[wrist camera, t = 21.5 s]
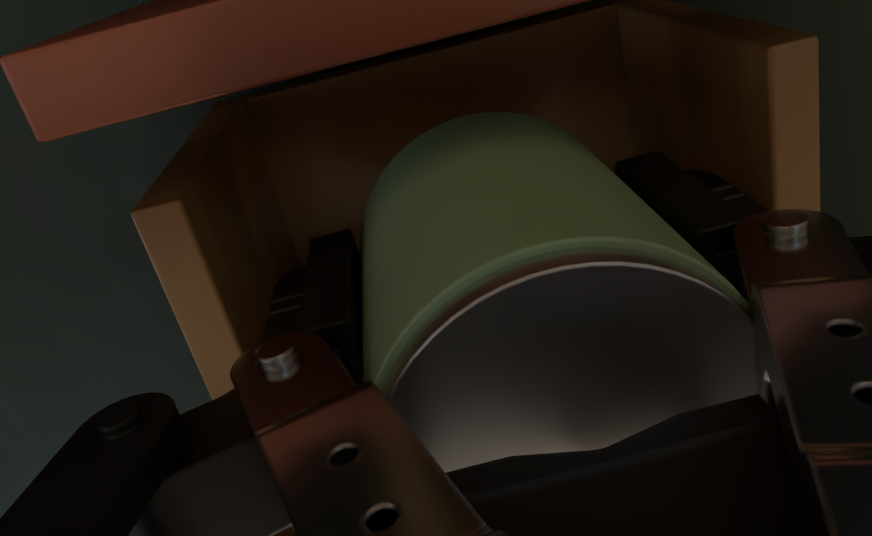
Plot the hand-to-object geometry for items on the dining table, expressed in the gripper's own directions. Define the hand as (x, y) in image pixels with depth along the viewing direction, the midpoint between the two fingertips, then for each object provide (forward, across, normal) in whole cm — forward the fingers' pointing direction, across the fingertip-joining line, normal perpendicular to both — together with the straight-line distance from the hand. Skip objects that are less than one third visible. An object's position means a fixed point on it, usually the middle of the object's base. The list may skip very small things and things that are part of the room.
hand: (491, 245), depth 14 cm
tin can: (0, 0, 0) cm, 0 cm away
